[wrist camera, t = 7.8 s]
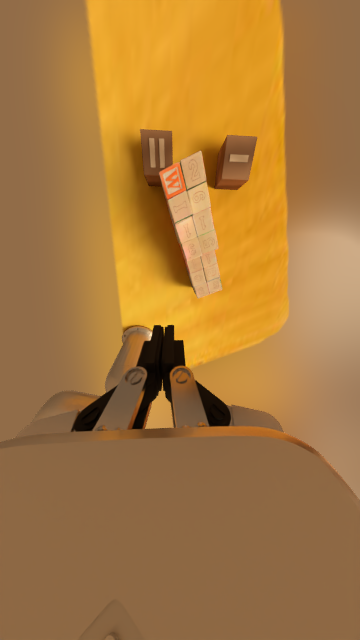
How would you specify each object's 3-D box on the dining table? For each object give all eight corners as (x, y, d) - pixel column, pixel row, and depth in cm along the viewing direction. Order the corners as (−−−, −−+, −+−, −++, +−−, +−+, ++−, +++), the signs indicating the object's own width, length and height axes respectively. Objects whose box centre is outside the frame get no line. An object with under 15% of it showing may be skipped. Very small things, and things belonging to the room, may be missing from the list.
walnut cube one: (237, 189, 28) (249, 179, 23) (214, 189, 28) (222, 178, 23) (243, 155, 25) (258, 135, 21) (218, 153, 25) (227, 134, 21)
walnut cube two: (172, 186, 27) (172, 175, 23) (149, 185, 27) (143, 174, 22) (172, 150, 25) (171, 130, 20) (146, 149, 24) (139, 128, 20)
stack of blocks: (212, 280, 38) (227, 294, 27) (192, 287, 39) (199, 304, 28) (191, 184, 27) (202, 147, 17) (164, 197, 28) (158, 170, 17)
